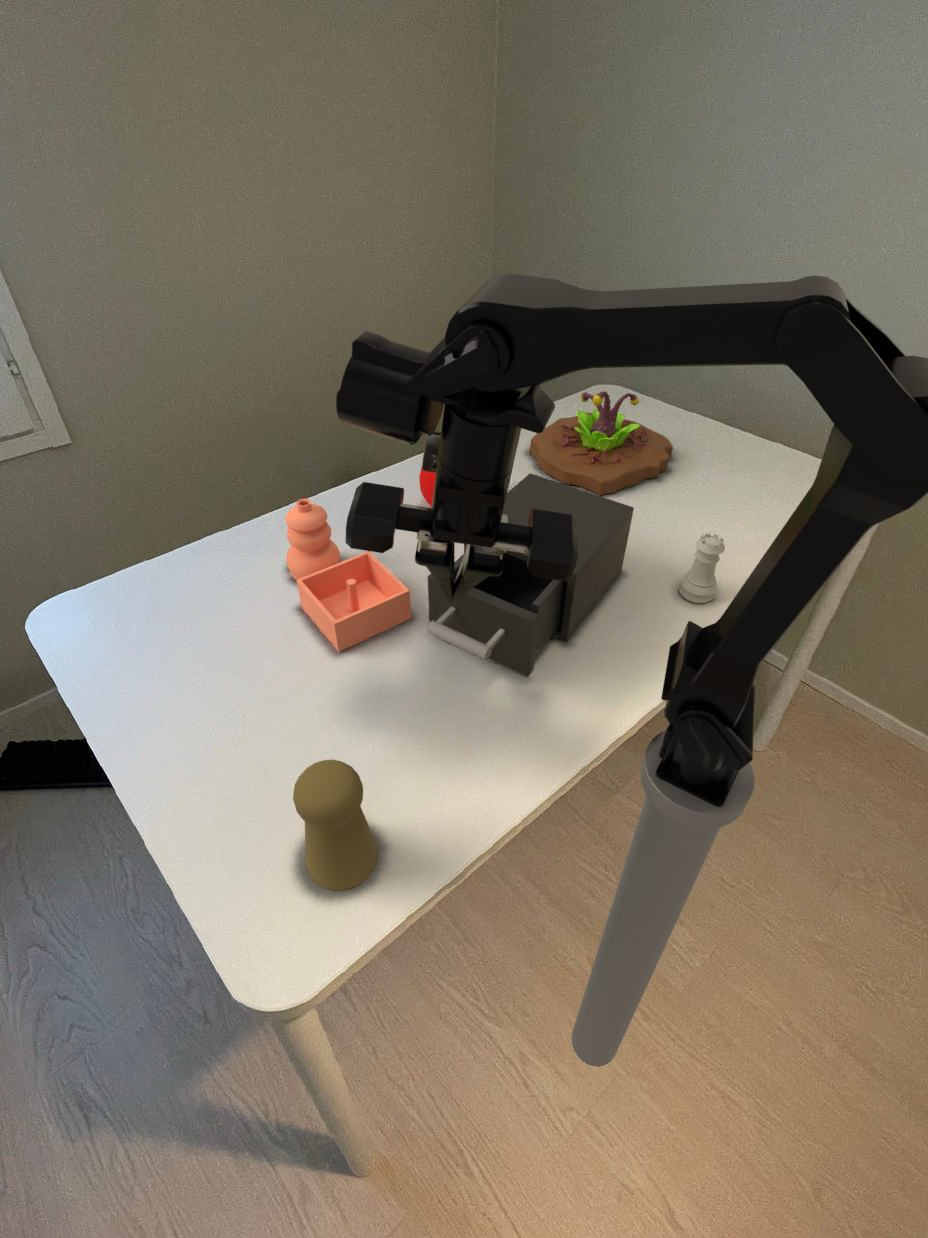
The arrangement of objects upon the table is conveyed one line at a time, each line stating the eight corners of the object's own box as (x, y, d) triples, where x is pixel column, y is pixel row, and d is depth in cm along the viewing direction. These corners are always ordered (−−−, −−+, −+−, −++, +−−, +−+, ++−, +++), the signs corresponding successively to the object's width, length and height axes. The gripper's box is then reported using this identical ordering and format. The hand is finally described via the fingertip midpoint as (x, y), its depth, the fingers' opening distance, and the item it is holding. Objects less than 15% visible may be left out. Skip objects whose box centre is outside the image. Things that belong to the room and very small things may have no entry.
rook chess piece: (691, 576, 87) (706, 522, 82) (722, 593, 85) (740, 539, 80) (670, 592, 85) (684, 538, 80) (701, 610, 83) (718, 555, 77)
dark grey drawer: (507, 703, 71) (511, 647, 65) (406, 653, 76) (402, 598, 71) (585, 606, 82) (594, 551, 76) (493, 568, 87) (495, 514, 82)
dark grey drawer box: (566, 642, 79) (576, 574, 72) (463, 598, 84) (463, 530, 78) (621, 573, 88) (634, 507, 81) (524, 537, 93) (529, 472, 87)
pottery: (411, 618, 81) (407, 550, 75) (338, 652, 77) (327, 582, 71) (337, 543, 92) (327, 477, 86) (270, 569, 88) (254, 502, 82)
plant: (507, 454, 109) (510, 385, 102) (588, 416, 119) (596, 350, 112) (608, 507, 99) (621, 434, 91) (688, 460, 109) (705, 390, 101)
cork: (291, 874, 58) (267, 799, 51) (328, 815, 62) (311, 737, 55) (356, 901, 56) (341, 827, 49) (390, 838, 61) (380, 761, 53)
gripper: (593, 420, 59) (551, 556, 70) (371, 383, 58) (366, 527, 70) (599, 502, 51) (551, 640, 63) (344, 462, 51) (343, 608, 62)
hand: (451, 599), depth 65 cm, fingers closed
